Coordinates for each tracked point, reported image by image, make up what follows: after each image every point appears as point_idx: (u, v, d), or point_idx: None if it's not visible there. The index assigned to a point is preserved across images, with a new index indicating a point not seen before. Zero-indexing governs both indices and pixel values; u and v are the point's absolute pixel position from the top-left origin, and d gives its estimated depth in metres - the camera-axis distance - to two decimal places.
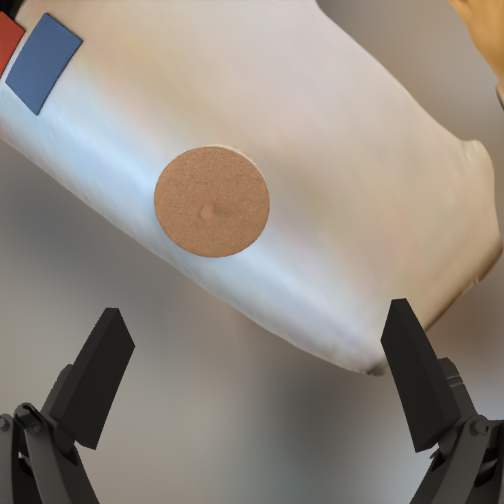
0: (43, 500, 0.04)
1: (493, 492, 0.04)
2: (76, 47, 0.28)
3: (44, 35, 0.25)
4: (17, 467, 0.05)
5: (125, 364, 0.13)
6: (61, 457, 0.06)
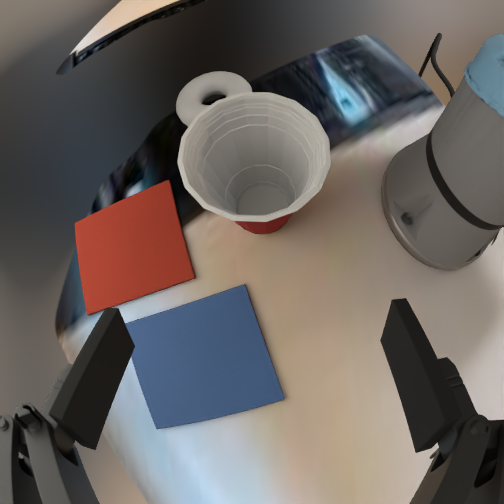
0: (43, 500, 0.04)
1: (493, 492, 0.04)
2: (272, 401, 0.25)
3: (227, 329, 0.27)
4: (17, 467, 0.05)
5: (125, 364, 0.13)
6: (61, 457, 0.06)
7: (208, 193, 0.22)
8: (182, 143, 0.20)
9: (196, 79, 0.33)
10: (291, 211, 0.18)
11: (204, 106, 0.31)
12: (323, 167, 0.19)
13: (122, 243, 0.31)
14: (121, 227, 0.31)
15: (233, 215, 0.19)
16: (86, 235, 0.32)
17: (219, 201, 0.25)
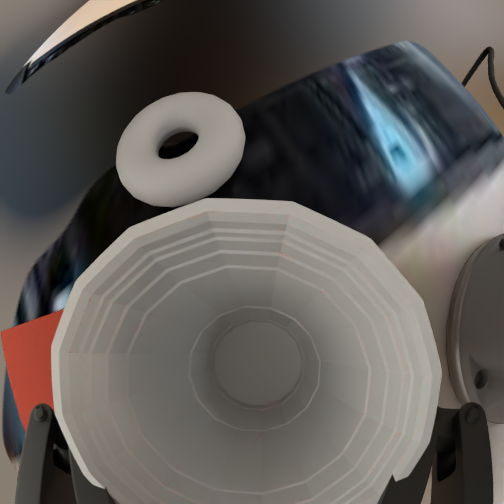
0: (76, 491, 0.05)
1: (457, 486, 0.05)
2: None
3: None
4: (50, 461, 0.06)
5: None
6: None
7: (144, 434, 0.08)
8: (54, 366, 0.06)
9: (149, 107, 0.19)
10: None
11: (157, 162, 0.18)
12: (411, 450, 0.06)
13: None
14: (50, 358, 0.18)
15: None
16: (14, 355, 0.18)
17: (174, 407, 0.11)
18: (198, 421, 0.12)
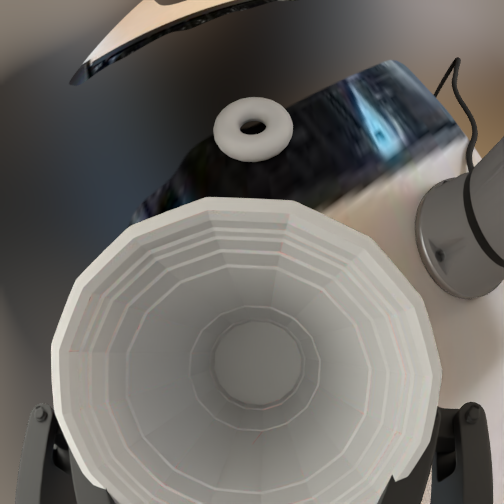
0: (76, 491, 0.05)
1: (456, 486, 0.05)
2: None
3: None
4: (50, 461, 0.06)
5: None
6: None
7: (144, 434, 0.08)
8: (54, 365, 0.06)
9: (234, 104, 0.34)
10: None
11: (246, 136, 0.32)
12: (412, 450, 0.06)
13: None
14: None
15: None
16: None
17: (174, 406, 0.11)
18: (198, 421, 0.12)
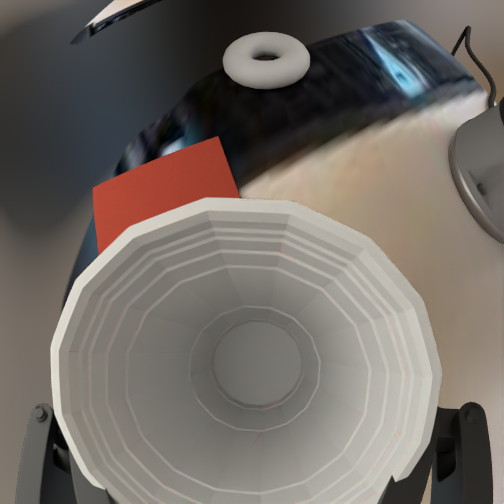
0: (76, 491, 0.05)
1: (457, 486, 0.05)
2: None
3: None
4: (50, 461, 0.06)
5: None
6: None
7: (143, 434, 0.08)
8: (54, 365, 0.06)
9: (245, 37, 0.27)
10: None
11: (259, 61, 0.26)
12: (411, 450, 0.06)
13: (158, 208, 0.25)
14: (156, 189, 0.25)
15: None
16: (108, 201, 0.26)
17: (174, 407, 0.11)
18: (198, 421, 0.12)
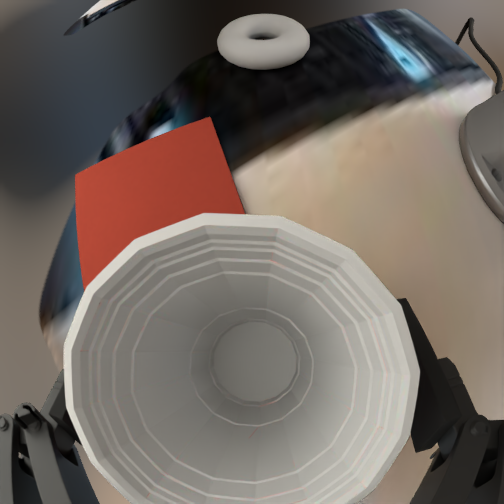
0: (43, 500, 0.04)
1: (493, 492, 0.04)
2: None
3: None
4: (17, 467, 0.05)
5: None
6: (61, 457, 0.06)
7: (147, 427, 0.09)
8: (66, 363, 0.07)
9: (241, 18, 0.24)
10: None
11: (256, 40, 0.23)
12: (392, 443, 0.06)
13: (142, 194, 0.22)
14: (141, 174, 0.23)
15: None
16: (91, 187, 0.23)
17: (175, 402, 0.12)
18: (198, 416, 0.13)
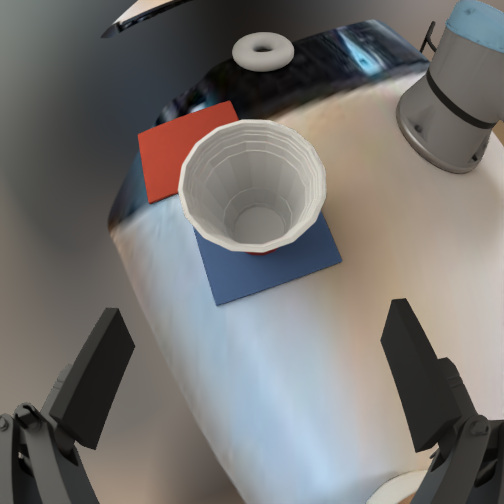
0: (43, 500, 0.04)
1: (493, 492, 0.04)
2: (331, 263, 0.30)
3: None
4: (17, 467, 0.05)
5: (125, 364, 0.13)
6: (61, 457, 0.06)
7: (207, 219, 0.23)
8: (182, 171, 0.21)
9: (248, 36, 0.38)
10: (287, 242, 0.19)
11: (258, 52, 0.36)
12: (319, 198, 0.20)
13: (189, 143, 0.36)
14: (187, 132, 0.36)
15: (232, 245, 0.20)
16: (151, 141, 0.36)
17: (217, 225, 0.26)
18: (228, 238, 0.26)
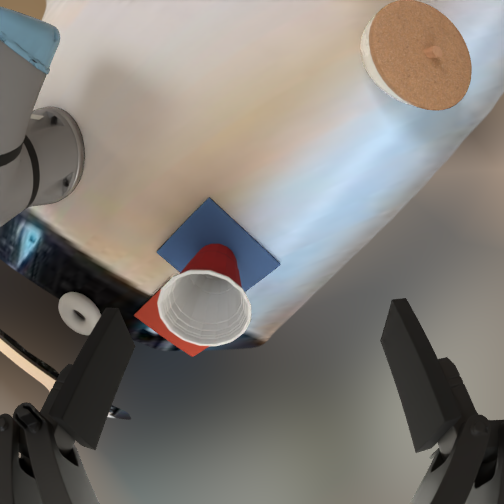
0: (43, 500, 0.04)
1: (493, 492, 0.04)
2: (214, 204, 0.38)
3: (185, 250, 0.42)
4: (17, 467, 0.05)
5: (125, 364, 0.13)
6: (61, 457, 0.06)
7: (236, 313, 0.36)
8: (219, 344, 0.34)
9: (75, 330, 0.48)
10: (231, 280, 0.30)
11: (85, 318, 0.47)
12: (193, 273, 0.30)
13: None
14: None
15: (248, 305, 0.32)
16: (192, 346, 0.52)
17: (233, 299, 0.38)
18: (237, 287, 0.39)
